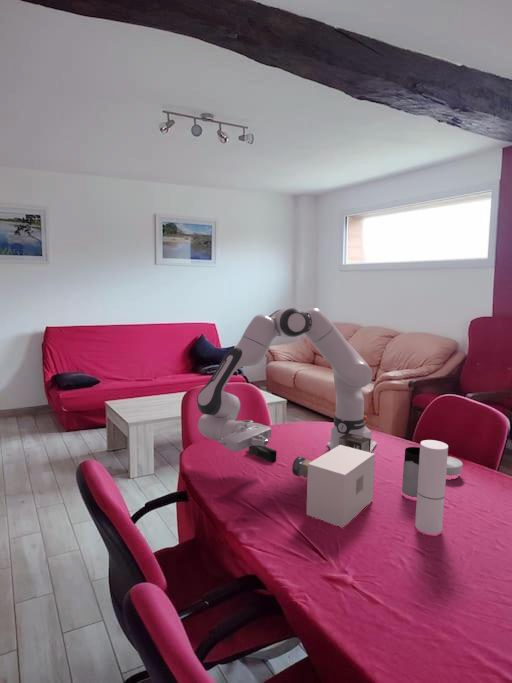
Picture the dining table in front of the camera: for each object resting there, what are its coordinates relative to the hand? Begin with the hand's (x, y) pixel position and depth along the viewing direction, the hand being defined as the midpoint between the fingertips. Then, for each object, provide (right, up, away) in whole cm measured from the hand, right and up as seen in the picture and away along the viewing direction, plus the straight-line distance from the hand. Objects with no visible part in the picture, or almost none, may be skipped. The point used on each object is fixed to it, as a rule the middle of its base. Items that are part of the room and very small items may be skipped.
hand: (266, 442), depth 156 cm
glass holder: (+50, -16, -4) cm, 53 cm away
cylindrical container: (+45, -19, -26) cm, 56 cm away
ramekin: (+65, -14, +10) cm, 67 cm away
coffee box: (+30, -15, +3) cm, 34 cm away
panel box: (+22, -17, -15) cm, 32 cm away
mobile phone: (-2, -11, +25) cm, 28 cm away
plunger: (+16, -10, -11) cm, 21 cm away
